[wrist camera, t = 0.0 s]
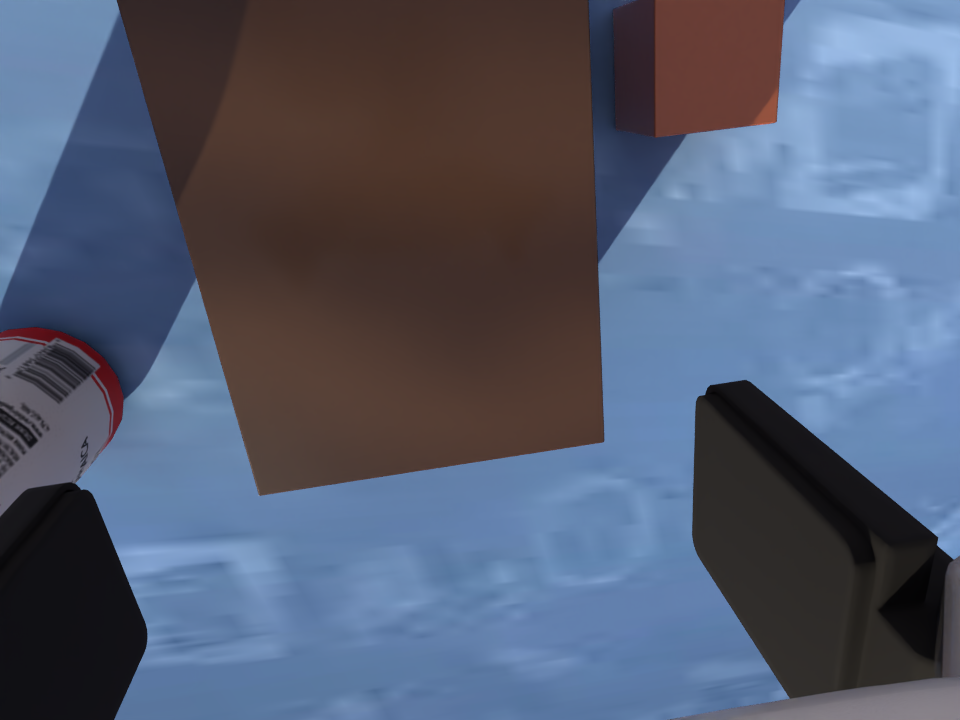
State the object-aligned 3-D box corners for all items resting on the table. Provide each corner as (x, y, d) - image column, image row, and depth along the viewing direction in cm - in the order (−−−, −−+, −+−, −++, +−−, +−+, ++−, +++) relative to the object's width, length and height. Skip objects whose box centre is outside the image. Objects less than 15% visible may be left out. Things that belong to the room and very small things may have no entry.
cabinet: (214, 23, 24) (111, -15, 15) (520, -10, 25) (586, -64, 16) (299, 377, 30) (258, 496, 21) (545, 342, 30) (605, 442, 22)
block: (612, 8, 25) (654, -8, 21) (724, -4, 26) (787, -22, 21) (615, 130, 27) (654, 137, 23) (719, 117, 27) (777, 122, 23)
